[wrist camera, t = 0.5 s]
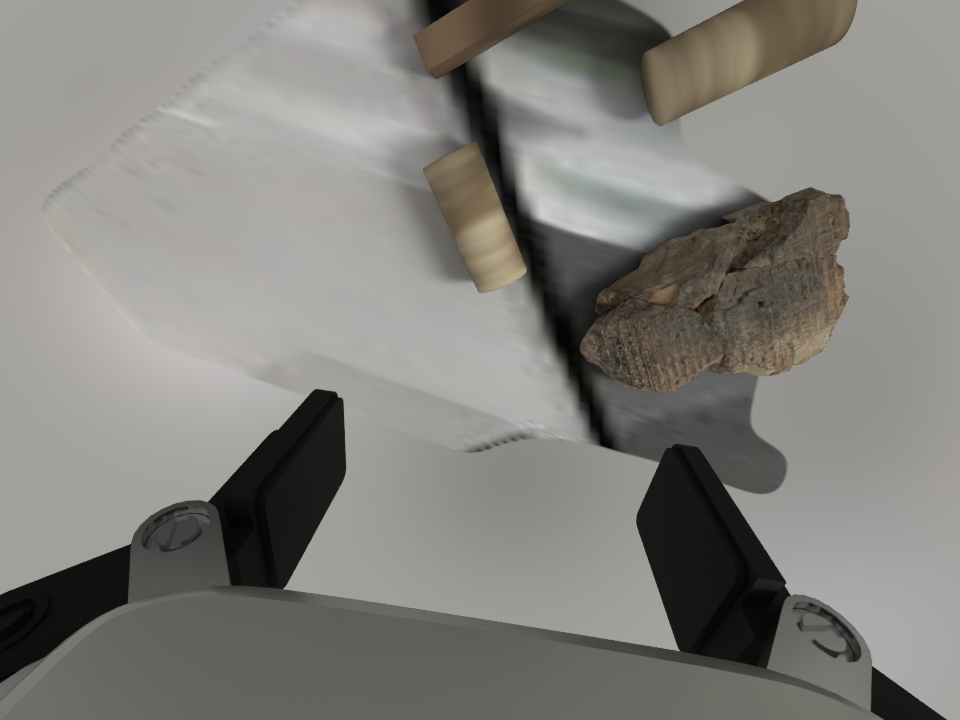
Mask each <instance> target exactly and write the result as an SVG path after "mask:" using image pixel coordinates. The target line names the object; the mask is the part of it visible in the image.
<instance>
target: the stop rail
mask: <svg viewBox="0 0 960 720" xmlns="http://www.w3.org/2000/svg"><path fill="white" fill-rule="evenodd" d="M568 1H570V0H468V1H467V2H465V3H464V4H462V5H461V6H459V7H458V8H456V9H454V10H453V11H451V12H450V13H448V14H447V15H445V16H443V17H442V18H440V19H439V20H437V21H436V22H434V23H432V24H431V25H429V26H428V27H426V28H425V29H423V30H421V31H420V32H418V33H417V34H415V35H414V36H413V37H414V39H415V42H416V44H417V46H418V49H419V51H420V54H421V56H422V59H423V61H424V64H425V66H426V68H427V71H428V72H429V73H431V74H432V75H433V76H434V77H435V78H436V79H438V78H440V77H442V76H443V75H445V74H447V73H448V72H450V71H452V70H453V69H455V68H457V67H458V66H460V65H462V64H464V63H465V62H467V61H469V60H470V59H472V58H474V57H475V56H477V55H479V54H480V53H482V52H484V51H486V50H487V49H489V48H491V47H492V46H494V45H496V44H497V43H499V42H501V41H502V40H504V39H506V38H508V37H509V36H511V35H513V34H514V33H516V32H518V31H519V30H521V29H523V28H524V27H526V26H528V25H530V24H531V23H533V22H535V21H536V20H538V19H540V18H541V17H543V16H545V15H546V14H548V13H550V12H552V11H553V10H555V9H557V8H558V7H560V6H562V5H563V4H565V3H567V2H568Z"/></svg>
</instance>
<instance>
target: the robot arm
mask: <svg viewBox="0 0 960 720" xmlns="http://www.w3.org/2000/svg"><path fill="white" fill-rule="evenodd" d="M345 473H346V453H345V429H344V404H343V399H342V398H339V397H338V395H337V393H336V392H333V391H326V390H320V389H315V390H314V391H313V392H312V393H311V394H310V395H309V396H308V397H307V398H306V399H305V401H304V402H303V403H302V404H301V405H300V406H299V407H298V408H297V410H296V411H295V412H294V413H293V414H292V415H291V417H289V418H288V420H287V421H286V422H285V423H284V424H283V425H282V426H281V428H280V429H279V430H275V431H273V432H272V433H271V434H269V435H268V437H267V438H266V439H265V440H264V441H263V442H262V443H261V444H260V445H259V446H258V448H257V449H256V450H255V451H254V452H253V453H252V454H251V455H250V456H249V457H248V459H247V460H246V461H245V462H244V463H243V464H242V465H241V466H240V467H239V468H238V470H237V471H236V472H235V473H234V474H233V475H232V476H231V477H230V479H228V481H227V482H226V483H225V484H224V485H223V486H222V487H221V488H220V489H219V491H218V492H217V493H216V494H215V495H214V496H213V497H212V498H211V499H210V500H209V501H208V502H205V501H201V500H196V501H195V500H193V501H184V502H180V503H176V504H173V505H171V506H168V507H166V508H163V509H161V510H160V511H158V512H156V513H155V514H153V515H151V516H150V517H149V518H148V519H146V520H145V521H144V522H143V523H142V524H141V525H140V526H139V528H138V529H137V530H136V532H135V533H134V536H133V539H132V542H131V544H130V545H127V546H125V547H122V548H119V549H117V550H114V551H112V552H109V553H107V554H104V555H101V556H99V557H96V558H93V559H91V560H88V561H86V562H83V563H80V564H78V565H75V566H73V567H70V568H67V569H65V570H62V571H60V572H57V573H55V574H52V575H49V576H47V577H44V578H42V579H39V580H36V581H34V582H31V583H29V584H26V585H23V586H21V587H18V588H16V589H13V590H10V591H8V592H6V593H4V594H2V595H0V720H946V719H945V718H944V717H942V716H941V715H939V714H938V713H937V712H935V711H934V710H932V709H931V708H930V707H928V706H927V705H925V704H924V703H923V702H921V701H920V700H919V699H917V698H915V697H914V696H913V695H912V694H910V693H909V692H907V691H906V690H904V689H903V688H902V687H900V686H899V685H898V684H896V683H895V682H893V681H892V680H891V679H889V678H888V677H886V676H885V675H884V674H882V673H881V672H880V671H878V670H877V669H875V668H874V667H873V666H872V659H871V654H870V650H869V648H868V646H867V644H866V643H865V641H864V639H863V637H862V636H861V635H860V634H859V632H858V631H857V630H856V629H855V627H854V626H853V625H852V624H851V623H849V622H848V621H847V620H846V619H845V618H844V617H843V616H842V615H841V614H839V613H838V612H837V611H835V610H834V609H832V608H831V607H830V606H828V605H826V604H824V603H822V602H820V601H819V600H817V599H814V598H811V597H808V596H805V595H792V596H791V595H790V594H789V592H788V591H787V589H786V587H785V586H784V585H785V584H786V581H785V580H784V578H783V577H782V575H781V573H780V572H779V570H778V569H777V567H776V566H775V564H774V563H773V561H772V560H771V558H770V556H769V555H768V553H767V552H766V550H765V549H764V547H763V546H762V544H761V543H760V541H759V540H758V538H757V537H756V535H755V533H754V532H753V530H752V529H751V527H750V526H749V524H748V523H747V521H746V520H745V518H744V516H743V515H742V513H741V512H740V510H739V509H738V507H737V506H736V504H735V503H734V501H733V500H732V498H731V497H730V495H729V493H728V492H727V490H726V489H725V487H724V486H723V484H722V483H721V481H720V480H719V478H718V476H717V475H716V473H715V472H714V470H713V469H712V467H711V466H710V464H709V463H708V461H707V460H706V458H705V456H704V455H703V453H702V452H701V450H700V449H699V448H697V447H694V446H687V445H681V444H674V445H673V446H672V448H667V449H666V450H665V452H664V454H663V457H662V459H661V461H660V463H659V466H658V468H657V470H656V472H655V475H654V477H653V479H652V482H651V484H650V486H649V488H648V490H647V493H646V495H645V497H644V499H643V502H642V504H641V506H640V508H639V511H638V513H637V518H636V519H637V520H636V523H637V528H638V531H639V534H640V537H641V540H642V542H643V545H644V549H645V552H646V554H647V557H648V560H649V563H650V566H651V569H652V572H653V575H654V578H655V581H656V584H657V587H658V590H659V593H660V596H661V599H662V601H663V605H664V608H665V611H666V613H667V617H668V620H669V622H670V625H671V628H672V631H673V634H674V637H675V640H676V643H677V646H678V648H679V650H680V651H681V652H680V651H674V650H668V649H663V648H657V647H651V646H644V645H638V644H632V643H626V642H620V641H614V640H608V639H602V638H596V637H590V636H583V635H578V634H572V633H566V632H559V631H553V630H547V629H541V628H534V627H528V626H522V625H515V624H510V623H503V622H497V621H491V620H484V619H478V618H471V617H465V616H459V615H452V614H447V613H440V612H433V611H426V610H421V609H414V608H407V607H401V606H395V605H388V604H382V603H375V602H368V601H362V600H355V599H349V598H342V597H335V596H328V595H320V594H313V593H305V592H298V591H291V590H283V588H284V587H285V586H286V585H287V583H288V581H289V580H290V577H291V576H292V574H293V572H294V570H295V568H296V567H297V565H298V563H299V561H300V559H301V557H302V556H303V554H304V552H305V550H306V548H307V546H308V544H309V543H310V541H311V539H312V537H313V535H314V533H315V532H316V529H317V528H318V526H319V524H320V522H321V521H322V519H323V517H324V515H325V513H326V511H327V509H328V508H329V506H330V504H331V502H332V500H333V498H334V497H335V495H336V493H337V491H338V489H339V487H340V485H341V484H342V482H343V480H344V477H345Z"/></svg>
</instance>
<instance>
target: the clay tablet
mask: <svg viewBox="0 0 960 720" xmlns="http://www.w3.org/2000/svg"><path fill="white" fill-rule="evenodd" d="M722 219H725V220H727V221H730V222H731V223H730V224H725V225H723V226H721V227H718V228H710V229H703V228H702V229H699V230H696V231H694V232H692V233H691V234H689V235H687V236H683V237H673V238H671V239H669V240H667V241H665V242H663V243H661V244H659V245H658V246H657V247H656V248H655V249H654V250H653V251H652V252H651V253H649V254H646V255H644V256H642V259H641V263H640V265H639V268H637V269H636V270H634V271H632V272H630V273H628V274H626V275H624V276H623V277H621V278H619V279H617V280H616V281H615V282H614V283H613V284H612V285H611V286H610V287H608V288H604V289H603V290H602V291H601V292H600V293H599V295H598V297H597V300H596V304H595V310H594V312H595V313H597V314H599V315H600V317H599V318H597V319H596V320H595V322H594V324H593V325H592V326H591V327H590V329H589V330H588V332H587V333H586V335H585V337H584V338H583V340H582V342H581V345H580V352H581V354H582V355H584V357H585V359H586V360H587V361H589V362H592V363H594V364H596V365H598V366H600V367H601V368H602V370H603V372H604V374H608V375H609V376H610V377H611V378H612V379H613V381H615V382H616V383H618V384H620V385H623V386H627V387H631V388H634V389H635V390H637V391H642V390H649V391H657V392H662V393H674V392H676V391H677V389H678V387H679V386H681V385H684V384H687V383H689V382H691V381H692V380H694V378H695V377H696V375H697V374H698V373H699V372H700V371H702V370H707V371H711V372H715V373H719V374H724V373H742V372H744V373H747V374H751V375H754V376H771V375H775V374H780V373H782V372H785V371H789V370H790V369H791V368H792V367H793V366H795V365H798V364H801V363H805V362H807V361H808V360H809V358H810V357H813V356H815V355H817V354H819V353H821V352H822V351H823V350H824V349H825V348H826V347H827V344H828V342H829V340H830V337H831V333H832V330H833V329H834V325H835V324H836V323H837V321H838V319H839V318H840V316H841V313H842V312H843V310H844V308H845V305H846V302H847V300H848V298H849V296H848V295H847V294H845V292H844V289H843V288H844V287H845V284H844V281H843V278H844V269H843V267H842V266H840V265H839V264H838V263H837V262H836V255H833V254H835V253H836V252H837V250H838V248H839V246H840V243H841V241H842V240H844V239H847V236H848V232H849V227H850V223H849V213H848V211H847V209H846V208H845V199H844V198H843V197H842V196H841V195H834V194H833V195H832V194H827V193H825V192H822V191H819V190H816V189H814V188H807V189H805V190H801V191H799V192H796V193H793V194H791V195H788V196H785V197H784V198H783V199H781V200H779V201H776V202H773V203H771V202H765V201H762V202H759V203H756V204H753V205H751V206H748V207H746V208H743V209H741V210H738V211H736V212H733V213H730V214H727V215H724V216H722ZM608 311H610V312H608Z"/></svg>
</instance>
